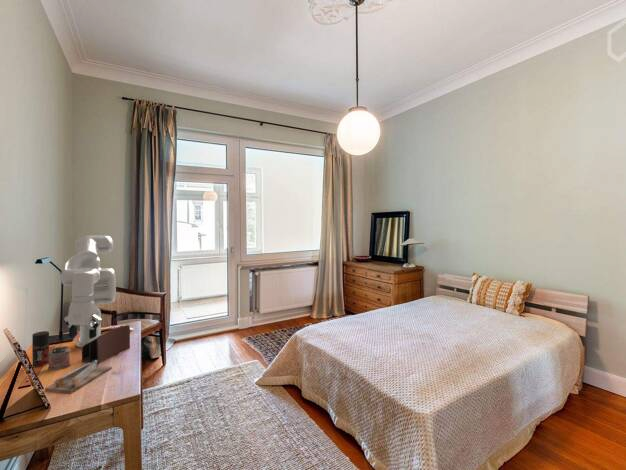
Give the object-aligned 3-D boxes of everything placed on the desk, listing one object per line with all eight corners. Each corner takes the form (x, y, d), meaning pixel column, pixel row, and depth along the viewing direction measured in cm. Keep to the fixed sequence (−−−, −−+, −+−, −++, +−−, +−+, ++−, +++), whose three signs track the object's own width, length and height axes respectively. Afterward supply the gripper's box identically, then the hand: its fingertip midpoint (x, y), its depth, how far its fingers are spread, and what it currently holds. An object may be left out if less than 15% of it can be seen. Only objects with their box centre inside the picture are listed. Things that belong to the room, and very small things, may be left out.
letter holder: (130, 348, 166) (130, 323, 166) (98, 364, 147) (98, 335, 146) (115, 346, 168) (115, 321, 168) (81, 362, 149) (81, 333, 148)
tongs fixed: (93, 366, 142) (93, 359, 142) (98, 366, 142) (98, 359, 142) (56, 387, 124) (56, 379, 124) (61, 387, 124) (61, 379, 124)
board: (88, 366, 144) (88, 364, 144) (111, 368, 143) (111, 366, 143) (45, 390, 123) (45, 388, 123) (71, 393, 122) (71, 390, 122)
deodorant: (46, 360, 149) (46, 330, 149) (50, 363, 146) (50, 333, 145) (30, 364, 144) (30, 333, 144) (34, 368, 141) (34, 336, 140)
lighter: (47, 370, 139) (47, 349, 139) (49, 367, 142) (49, 346, 142) (68, 367, 143) (68, 346, 142) (71, 364, 146) (71, 344, 145)
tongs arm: (93, 368, 140) (93, 362, 140) (96, 368, 140) (96, 361, 140) (71, 387, 124) (71, 379, 124) (75, 386, 124) (75, 379, 124)
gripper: (57, 299, 131) (57, 338, 131) (93, 301, 129) (93, 341, 130) (73, 295, 138) (72, 332, 139) (107, 297, 137) (107, 335, 137)
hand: (82, 336), depth 134 cm, fingers open, 9 cm apart
